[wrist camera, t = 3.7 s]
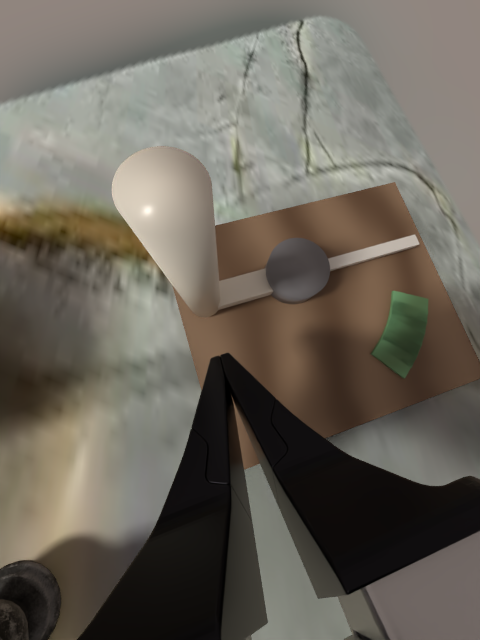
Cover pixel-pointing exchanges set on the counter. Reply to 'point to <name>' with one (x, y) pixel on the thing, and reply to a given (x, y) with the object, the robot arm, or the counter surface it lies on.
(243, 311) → the dial plate
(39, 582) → the salt shaker
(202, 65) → the counter surface
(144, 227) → the crank handle
